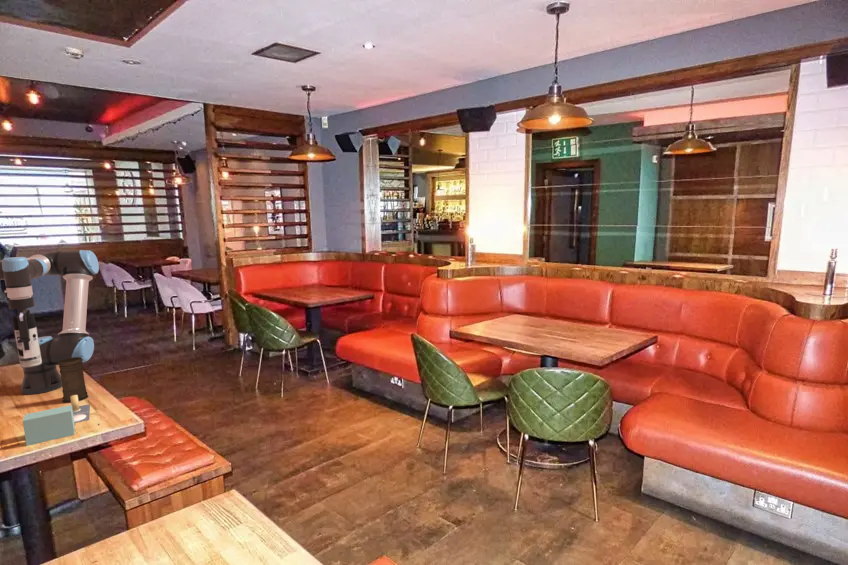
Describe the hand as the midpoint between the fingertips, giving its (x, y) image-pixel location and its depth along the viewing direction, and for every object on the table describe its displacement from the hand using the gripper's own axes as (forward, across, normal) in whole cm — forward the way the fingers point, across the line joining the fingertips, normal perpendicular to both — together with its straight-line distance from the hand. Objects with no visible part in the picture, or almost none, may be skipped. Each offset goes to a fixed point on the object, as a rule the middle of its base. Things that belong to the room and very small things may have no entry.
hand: (29, 355), depth 185 cm
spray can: (+4, 0, 0) cm, 4 cm away
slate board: (+24, +14, +8) cm, 29 cm away
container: (+24, -6, +12) cm, 28 cm away
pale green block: (+23, +30, +6) cm, 38 cm away
